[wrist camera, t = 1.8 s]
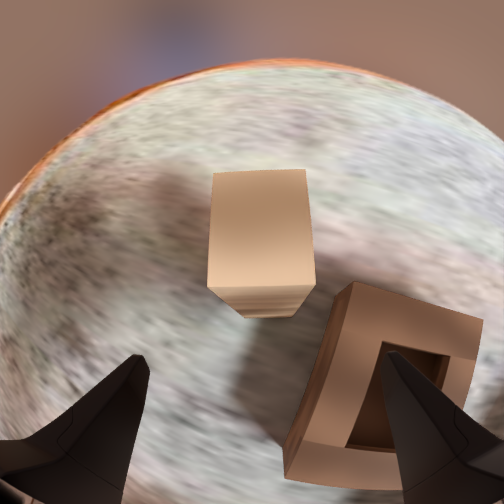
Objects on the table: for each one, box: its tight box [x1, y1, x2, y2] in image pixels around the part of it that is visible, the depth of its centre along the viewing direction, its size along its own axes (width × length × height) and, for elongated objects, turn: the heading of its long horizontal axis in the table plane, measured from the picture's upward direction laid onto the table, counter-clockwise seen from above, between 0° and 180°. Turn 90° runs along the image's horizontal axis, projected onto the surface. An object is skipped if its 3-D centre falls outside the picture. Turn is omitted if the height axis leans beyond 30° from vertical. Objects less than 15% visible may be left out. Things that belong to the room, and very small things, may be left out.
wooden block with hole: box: [282, 281, 483, 490], centre depth 16 cm, size 13×11×6 cm
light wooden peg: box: [207, 169, 316, 318], centre depth 16 cm, size 4×4×12 cm
